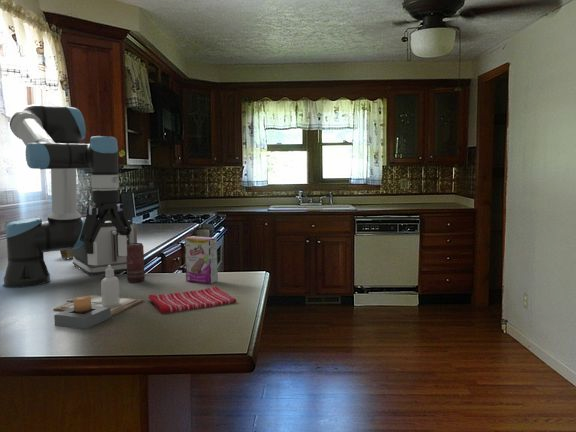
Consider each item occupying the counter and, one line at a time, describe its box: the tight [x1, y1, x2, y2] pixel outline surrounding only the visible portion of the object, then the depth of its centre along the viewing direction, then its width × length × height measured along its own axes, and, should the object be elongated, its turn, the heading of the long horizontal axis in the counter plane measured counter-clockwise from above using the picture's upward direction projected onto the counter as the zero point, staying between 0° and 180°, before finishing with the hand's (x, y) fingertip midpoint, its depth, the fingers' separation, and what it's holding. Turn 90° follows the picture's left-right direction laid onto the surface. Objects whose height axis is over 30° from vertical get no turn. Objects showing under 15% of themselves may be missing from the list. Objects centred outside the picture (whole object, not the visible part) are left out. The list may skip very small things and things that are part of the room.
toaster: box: [71, 216, 138, 276], centre depth 204 cm, size 19×35×20 cm, turn 36°
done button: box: [72, 295, 91, 311], centre depth 131 cm, size 4×4×3 cm
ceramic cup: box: [59, 250, 73, 259], centre depth 227 cm, size 13×10×10 cm
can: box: [126, 242, 146, 284], centre depth 178 cm, size 6×6×14 cm
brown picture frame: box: [53, 294, 145, 317], centre depth 147 cm, size 22×16×1 cm
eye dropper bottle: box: [100, 265, 120, 306], centre depth 145 cm, size 4×6×12 cm
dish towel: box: [147, 286, 237, 315], centre depth 150 cm, size 17×24×3 cm
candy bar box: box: [184, 235, 219, 285], centre depth 176 cm, size 11×5×16 cm, turn 65°
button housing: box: [53, 305, 112, 330], centre depth 131 cm, size 10×10×3 cm
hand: (108, 260), depth 144 cm, fingers open, 13 cm apart
